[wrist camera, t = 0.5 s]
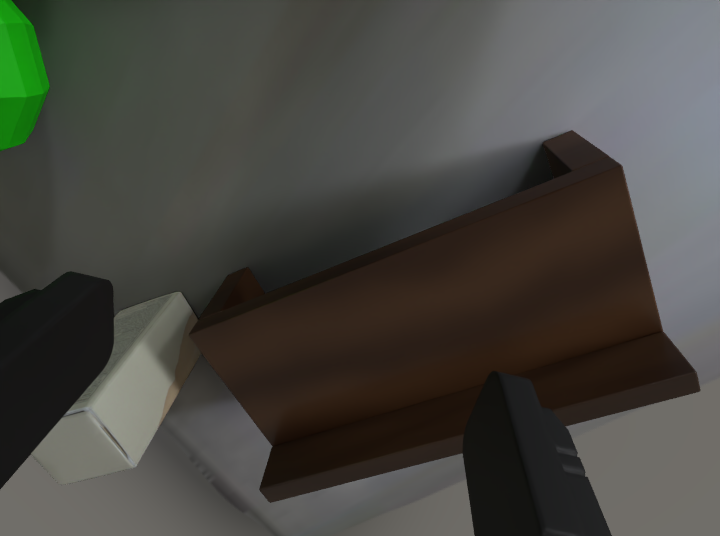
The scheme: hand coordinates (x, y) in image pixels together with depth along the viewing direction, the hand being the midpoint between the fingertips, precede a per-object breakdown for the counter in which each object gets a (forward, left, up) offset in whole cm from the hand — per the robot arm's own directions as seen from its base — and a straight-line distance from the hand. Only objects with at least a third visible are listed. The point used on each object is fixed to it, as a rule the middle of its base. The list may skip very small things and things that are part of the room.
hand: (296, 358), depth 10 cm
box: (+15, -11, -19) cm, 26 cm away
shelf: (+8, +5, -19) cm, 21 cm away
